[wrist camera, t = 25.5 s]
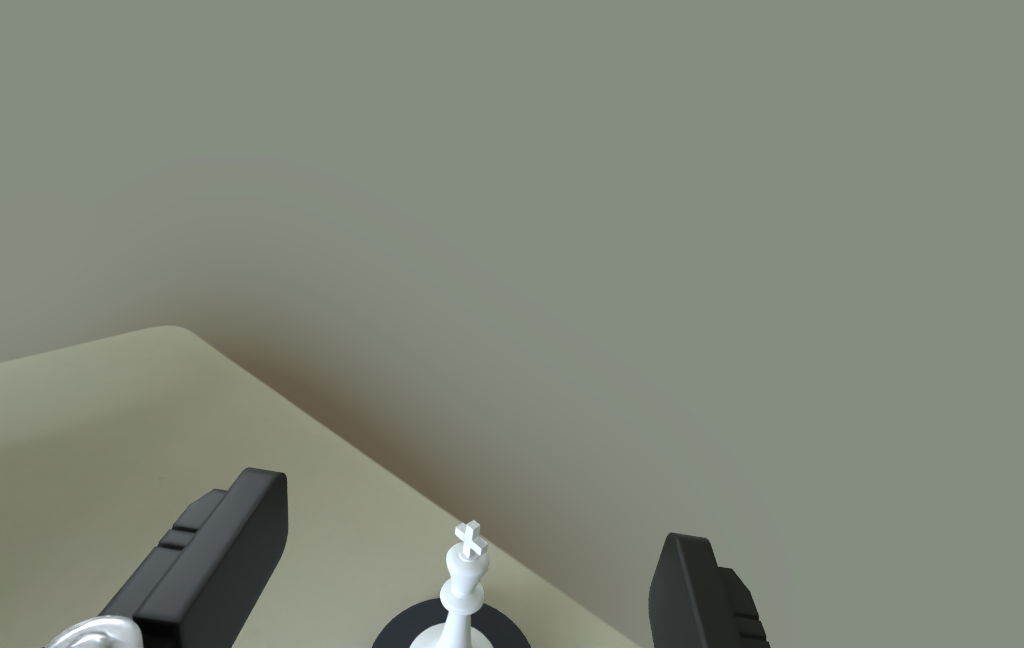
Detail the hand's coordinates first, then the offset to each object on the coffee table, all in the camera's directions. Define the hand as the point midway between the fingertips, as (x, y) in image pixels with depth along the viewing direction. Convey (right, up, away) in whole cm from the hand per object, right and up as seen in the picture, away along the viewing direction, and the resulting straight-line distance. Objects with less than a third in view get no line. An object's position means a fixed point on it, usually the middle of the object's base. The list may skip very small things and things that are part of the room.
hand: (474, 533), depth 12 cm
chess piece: (-2, -14, +18) cm, 23 cm away
